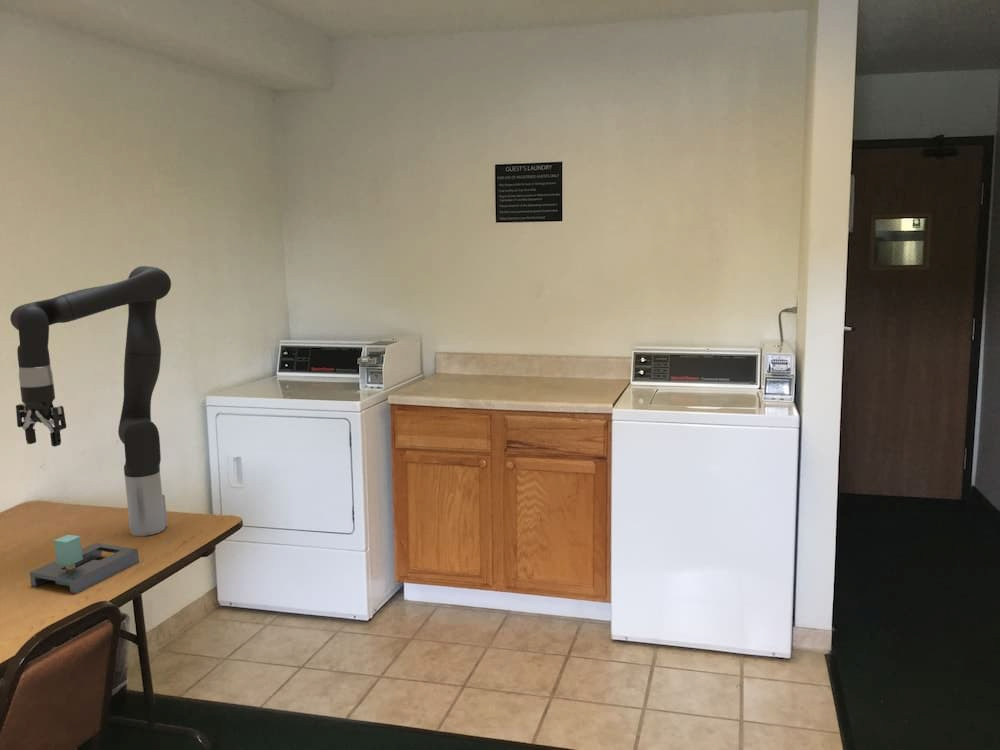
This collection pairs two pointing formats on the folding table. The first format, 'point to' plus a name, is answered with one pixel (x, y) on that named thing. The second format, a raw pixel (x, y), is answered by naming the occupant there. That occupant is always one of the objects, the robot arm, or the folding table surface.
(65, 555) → the teal stud
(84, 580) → the keyhole plate
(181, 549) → the folding table surface
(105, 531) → the folding table surface
